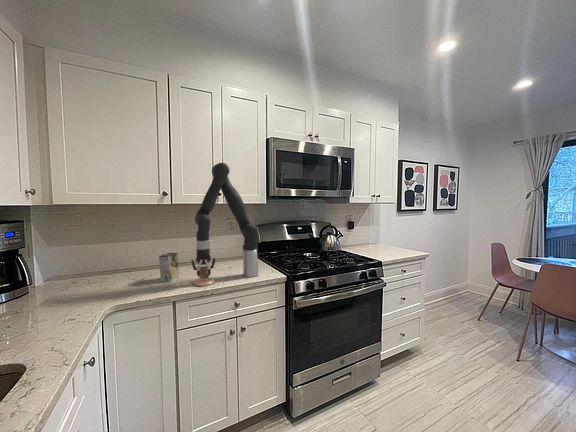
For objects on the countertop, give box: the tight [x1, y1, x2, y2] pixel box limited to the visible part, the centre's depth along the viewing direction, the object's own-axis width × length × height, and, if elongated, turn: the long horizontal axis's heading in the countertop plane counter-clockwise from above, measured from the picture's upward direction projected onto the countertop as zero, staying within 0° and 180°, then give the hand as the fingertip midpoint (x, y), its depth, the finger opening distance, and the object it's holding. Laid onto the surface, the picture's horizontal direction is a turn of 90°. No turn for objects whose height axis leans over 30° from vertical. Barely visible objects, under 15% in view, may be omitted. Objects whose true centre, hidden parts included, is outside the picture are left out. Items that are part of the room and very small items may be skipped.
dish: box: [193, 277, 216, 288], centre depth 152 cm, size 12×12×2 cm
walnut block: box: [199, 265, 210, 279], centre depth 152 cm, size 5×5×6 cm
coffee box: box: [158, 252, 179, 283], centre depth 159 cm, size 9×6×16 cm
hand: (203, 275), depth 152 cm, fingers closed on walnut block, 5 cm apart
